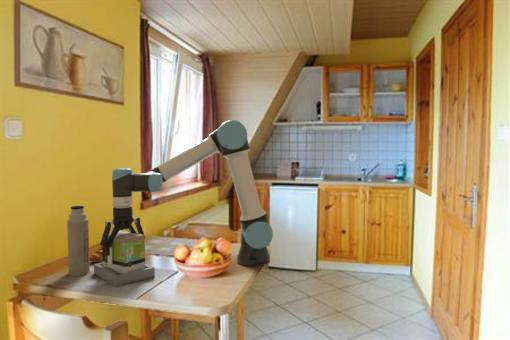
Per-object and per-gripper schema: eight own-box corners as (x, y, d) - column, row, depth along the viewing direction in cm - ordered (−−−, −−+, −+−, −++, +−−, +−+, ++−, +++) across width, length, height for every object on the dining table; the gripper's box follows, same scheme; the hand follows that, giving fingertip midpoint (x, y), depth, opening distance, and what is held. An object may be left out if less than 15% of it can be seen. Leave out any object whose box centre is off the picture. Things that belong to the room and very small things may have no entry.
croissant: (125, 259, 195) (121, 244, 197) (137, 253, 190) (132, 237, 192) (85, 269, 178) (81, 253, 180) (96, 263, 173) (91, 245, 175)
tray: (154, 277, 159) (154, 267, 159) (116, 287, 148) (116, 276, 148) (130, 265, 175) (130, 256, 174) (94, 273, 164) (93, 264, 163)
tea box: (146, 269, 161) (145, 234, 160) (125, 276, 153) (125, 238, 152) (122, 263, 170) (121, 229, 169) (102, 269, 161) (101, 233, 160)
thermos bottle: (93, 270, 168) (92, 205, 166) (81, 276, 160) (80, 208, 158) (76, 269, 169) (75, 204, 168) (64, 275, 162) (62, 207, 160)
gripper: (97, 211, 149) (99, 268, 150) (153, 204, 165) (154, 256, 166) (89, 208, 154) (91, 264, 156) (144, 202, 170) (145, 252, 172)
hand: (123, 260), depth 161 cm, fingers closed on tea box, 11 cm apart
